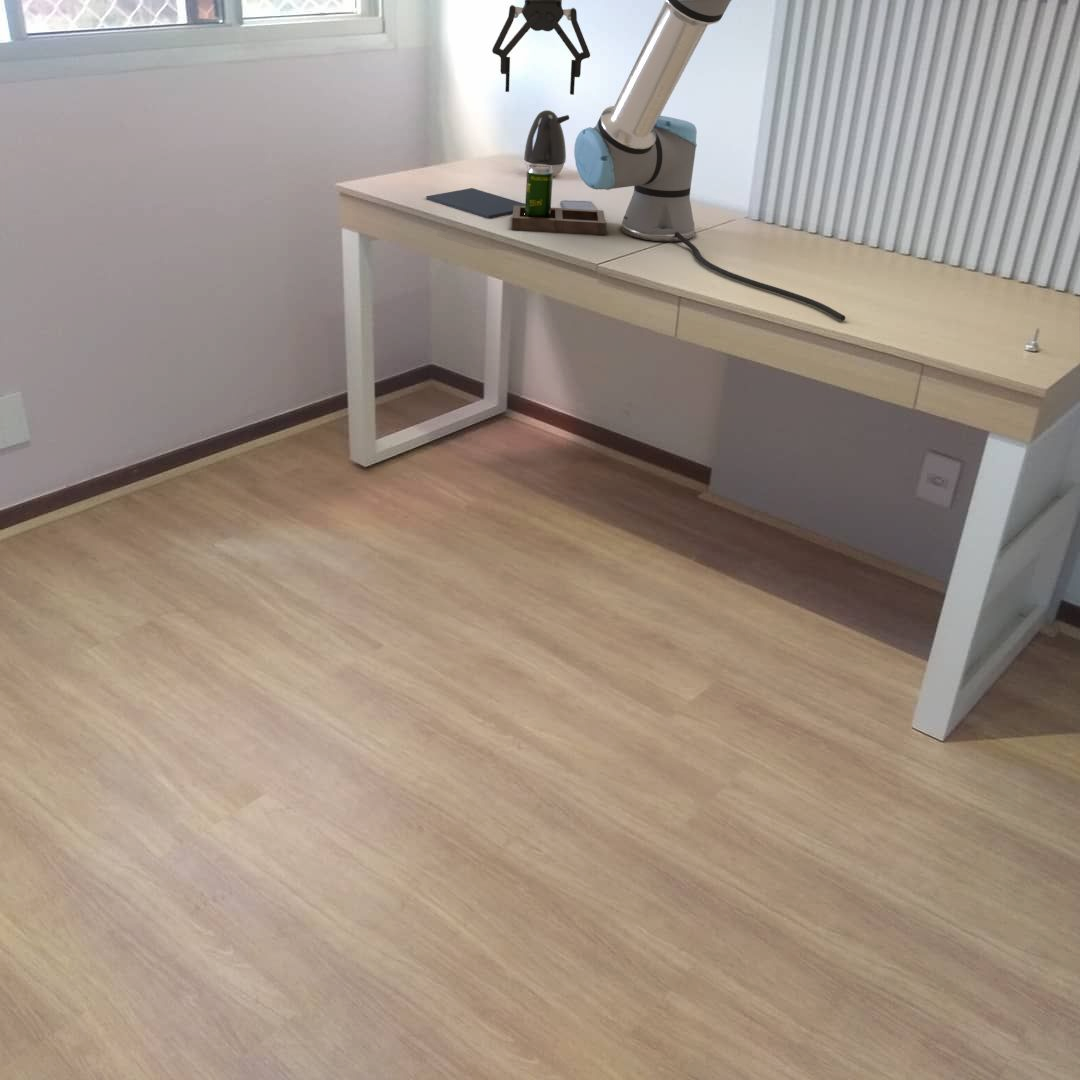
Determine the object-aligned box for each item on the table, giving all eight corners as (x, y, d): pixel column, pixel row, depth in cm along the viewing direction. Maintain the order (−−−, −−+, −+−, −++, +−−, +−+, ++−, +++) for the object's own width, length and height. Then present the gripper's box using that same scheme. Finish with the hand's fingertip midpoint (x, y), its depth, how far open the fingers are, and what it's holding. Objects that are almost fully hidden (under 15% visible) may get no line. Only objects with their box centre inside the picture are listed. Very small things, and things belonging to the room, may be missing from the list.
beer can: (548, 221, 247) (551, 164, 241) (551, 228, 243) (554, 169, 237) (523, 220, 247) (526, 163, 241) (525, 227, 242) (528, 168, 236)
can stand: (602, 222, 250) (603, 210, 248) (604, 235, 240) (605, 223, 239) (513, 217, 249) (513, 205, 248) (511, 229, 240) (512, 217, 239)
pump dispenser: (565, 181, 281) (569, 115, 273) (522, 178, 281) (525, 112, 273) (565, 171, 290) (569, 108, 282) (524, 169, 290) (527, 105, 282)
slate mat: (534, 209, 256) (534, 206, 256) (488, 218, 247) (488, 215, 247) (471, 190, 268) (471, 187, 267) (426, 198, 258) (426, 196, 258)
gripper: (604, -18, 237) (597, 92, 248) (482, -24, 237) (480, 87, 247) (606, -16, 231) (599, 97, 241) (481, -22, 230) (479, 92, 240)
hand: (539, 92), depth 244 cm, fingers open, 13 cm apart
